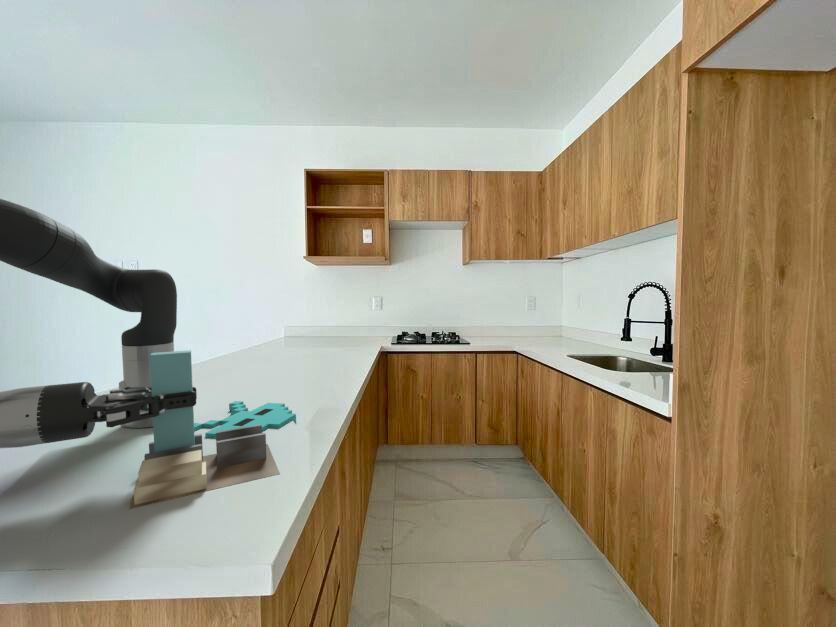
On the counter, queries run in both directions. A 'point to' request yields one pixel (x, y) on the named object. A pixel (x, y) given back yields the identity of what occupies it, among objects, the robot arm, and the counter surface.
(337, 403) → the counter surface
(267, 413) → the alien figure
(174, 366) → the block
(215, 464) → the rack
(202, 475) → the offcut lower
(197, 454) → the offcut upper
